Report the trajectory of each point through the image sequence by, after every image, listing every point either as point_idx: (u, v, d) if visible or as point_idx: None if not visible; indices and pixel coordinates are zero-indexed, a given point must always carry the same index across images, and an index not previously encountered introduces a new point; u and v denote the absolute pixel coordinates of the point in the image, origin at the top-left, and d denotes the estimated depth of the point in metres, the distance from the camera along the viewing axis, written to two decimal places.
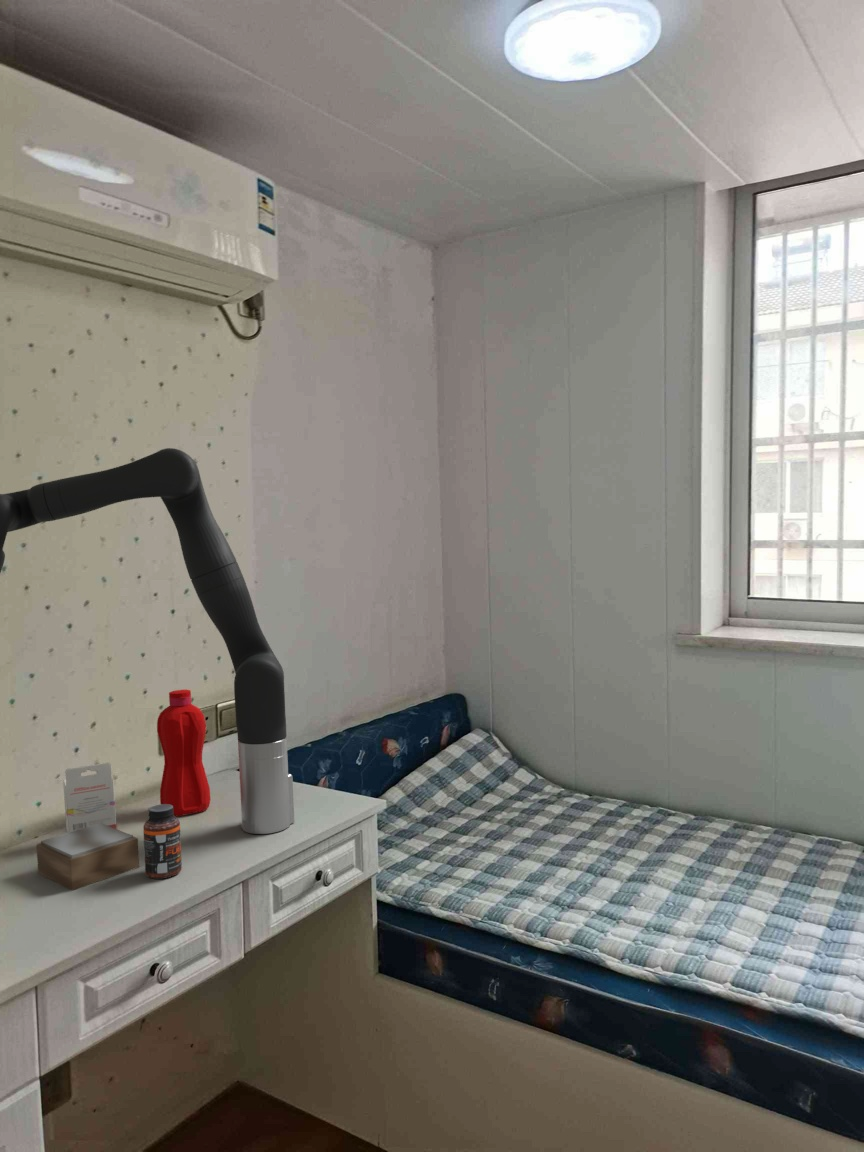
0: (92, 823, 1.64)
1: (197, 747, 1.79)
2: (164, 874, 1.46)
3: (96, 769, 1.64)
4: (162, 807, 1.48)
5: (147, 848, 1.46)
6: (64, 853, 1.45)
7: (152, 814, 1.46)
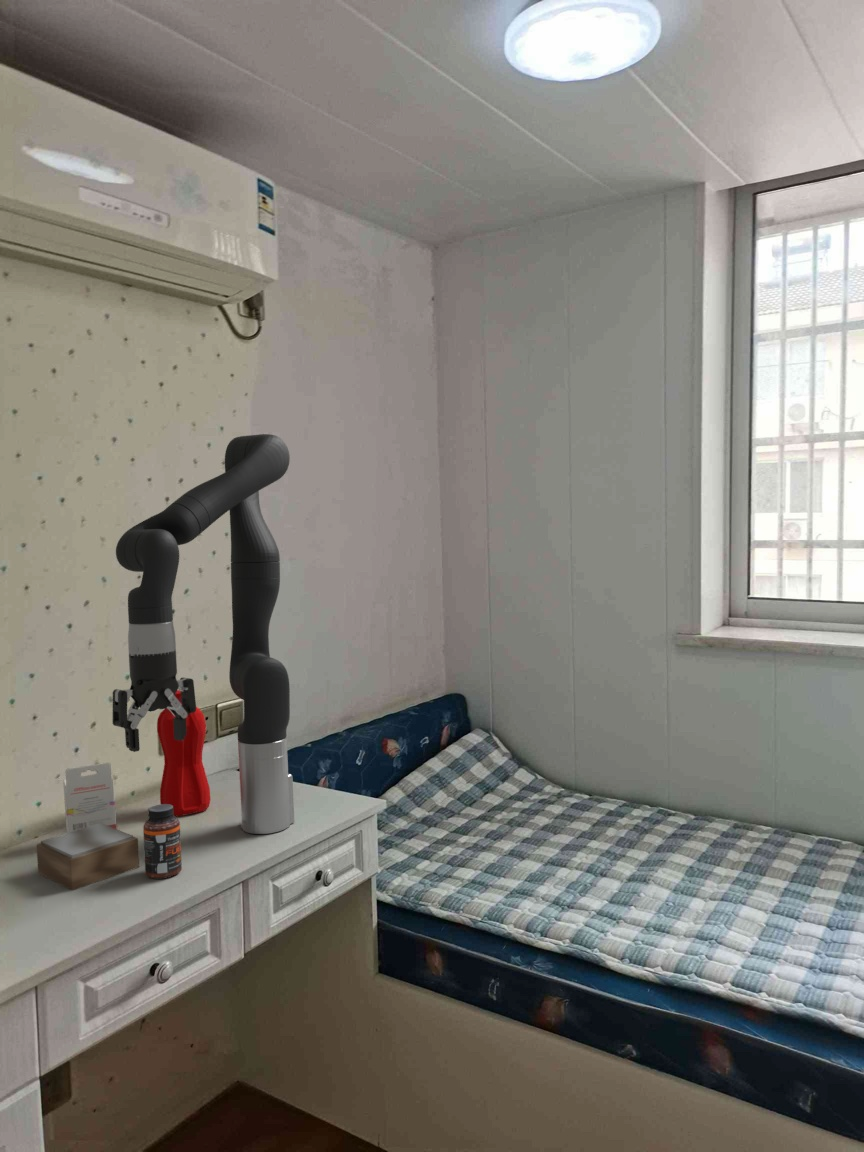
0: (92, 823, 1.64)
1: (197, 747, 1.79)
2: (164, 874, 1.46)
3: (96, 769, 1.64)
4: (162, 807, 1.48)
5: (147, 848, 1.46)
6: (64, 853, 1.45)
7: (152, 814, 1.46)
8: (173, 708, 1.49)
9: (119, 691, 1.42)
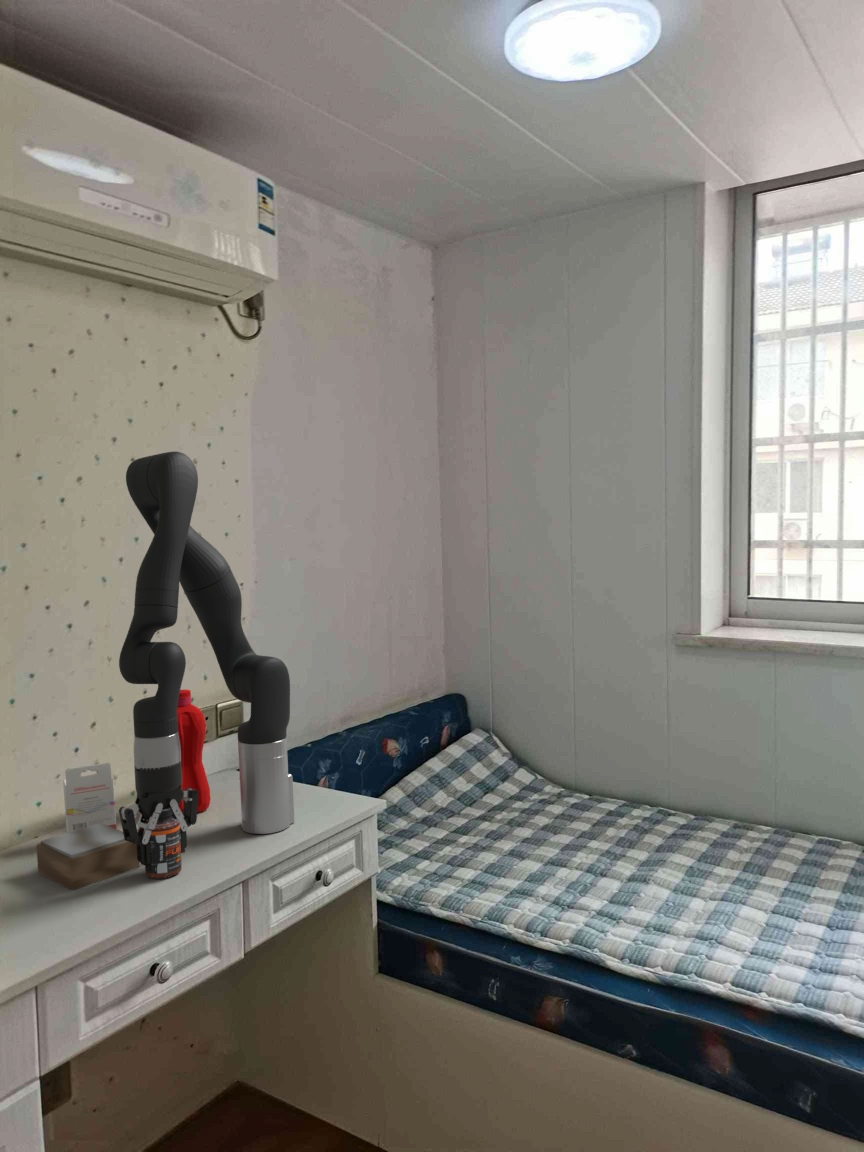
0: (92, 823, 1.64)
1: (197, 747, 1.79)
2: (164, 874, 1.46)
3: (96, 769, 1.64)
4: None
5: None
6: (64, 853, 1.45)
7: None
8: None
9: (125, 810, 1.43)
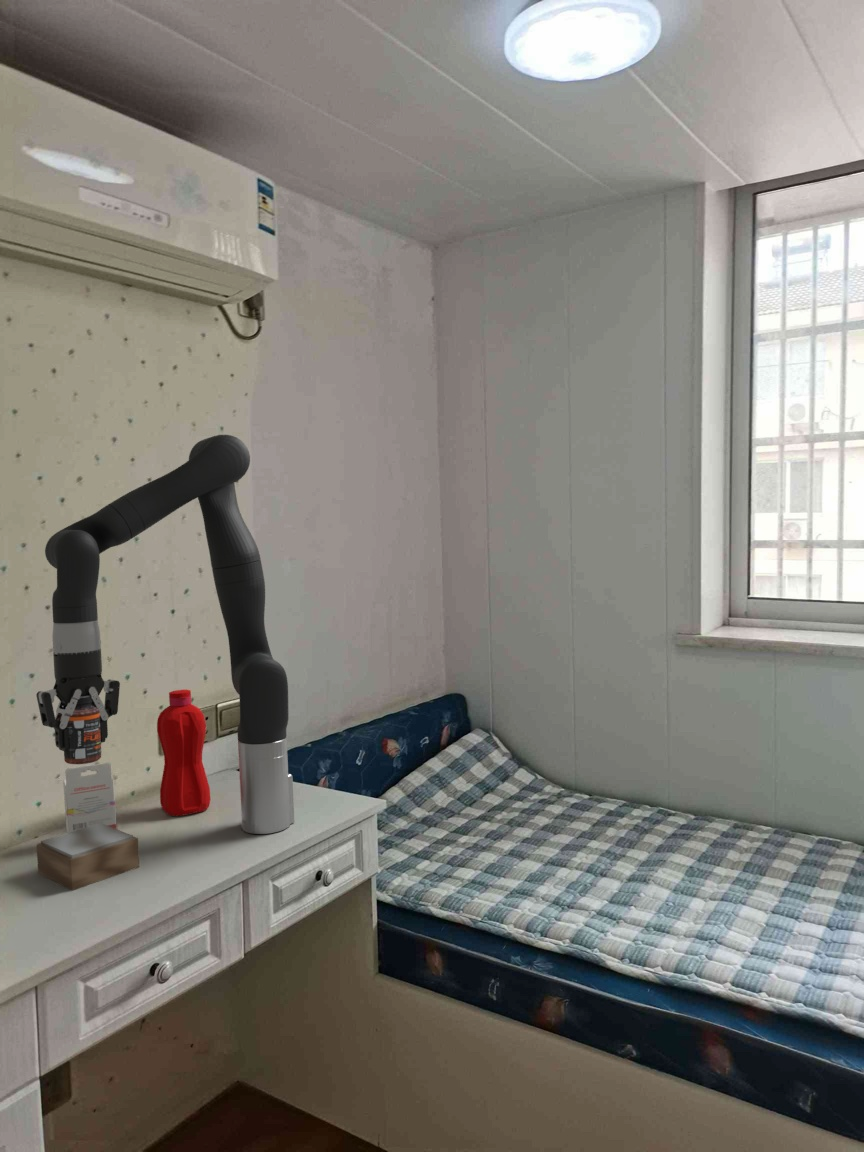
0: (92, 823, 1.64)
1: (197, 747, 1.79)
2: (82, 760, 1.47)
3: (96, 769, 1.64)
4: None
5: None
6: (64, 853, 1.45)
7: None
8: None
9: (42, 693, 1.44)
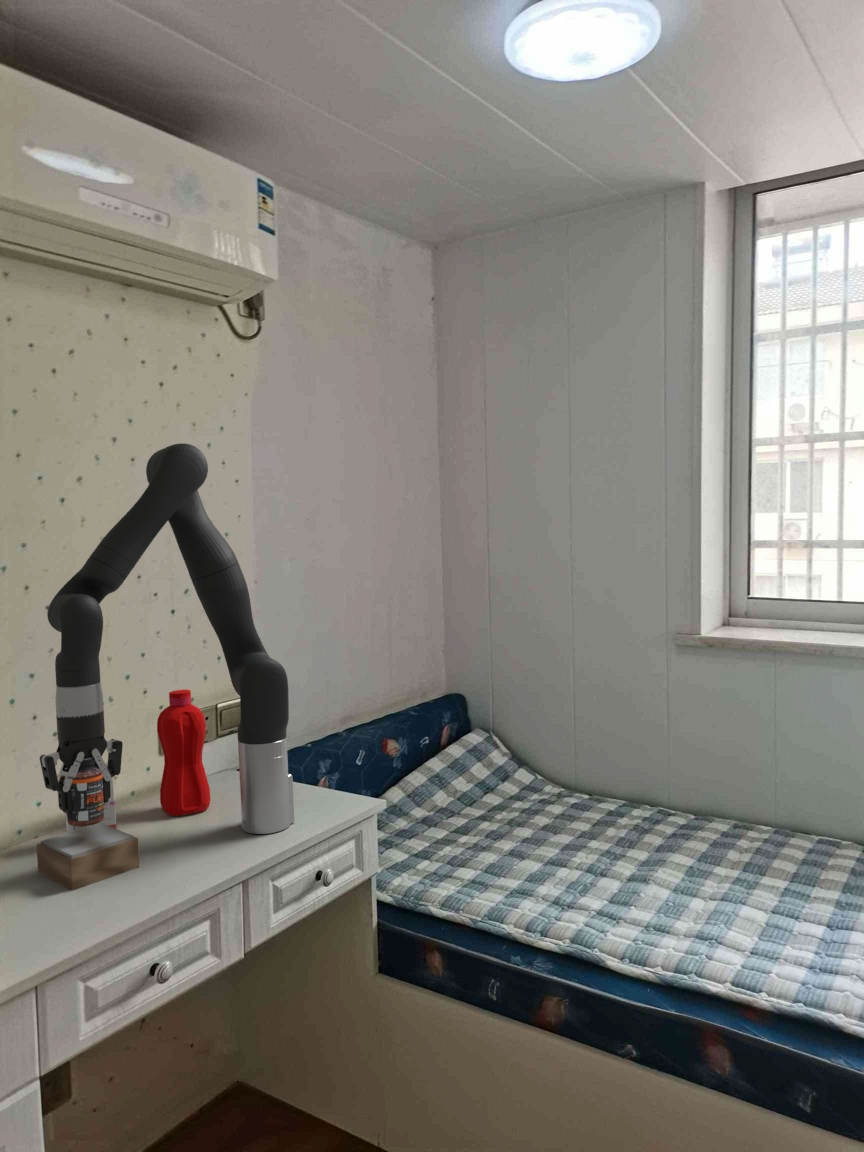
0: None
1: (197, 747, 1.79)
2: (85, 822, 1.48)
3: None
4: None
5: None
6: (64, 853, 1.45)
7: None
8: None
9: (45, 758, 1.45)
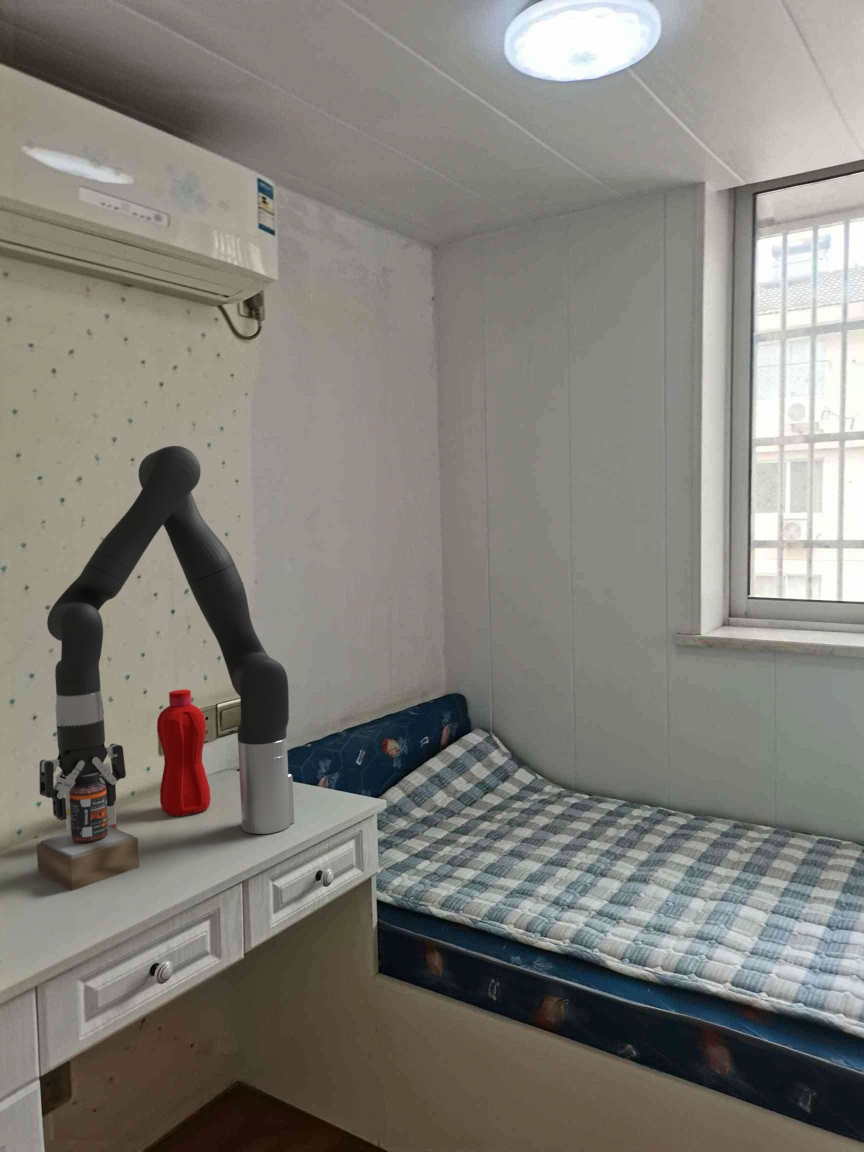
0: None
1: (197, 747, 1.79)
2: (89, 838, 1.49)
3: None
4: None
5: (72, 812, 1.49)
6: (64, 853, 1.45)
7: None
8: (102, 775, 1.52)
9: (45, 762, 1.45)
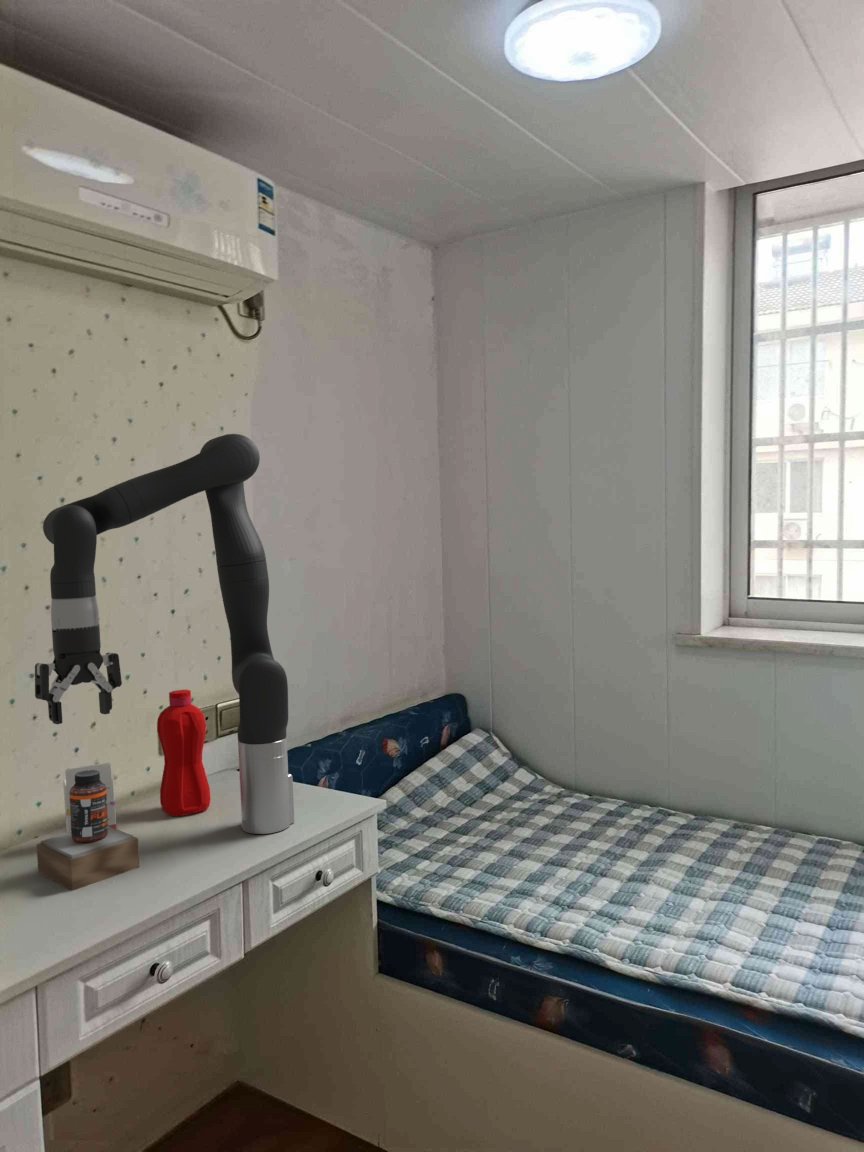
0: None
1: (197, 747, 1.79)
2: (89, 838, 1.49)
3: (96, 769, 1.64)
4: (88, 772, 1.51)
5: (72, 812, 1.49)
6: (64, 853, 1.45)
7: (78, 779, 1.49)
8: (97, 682, 1.51)
9: (41, 664, 1.44)
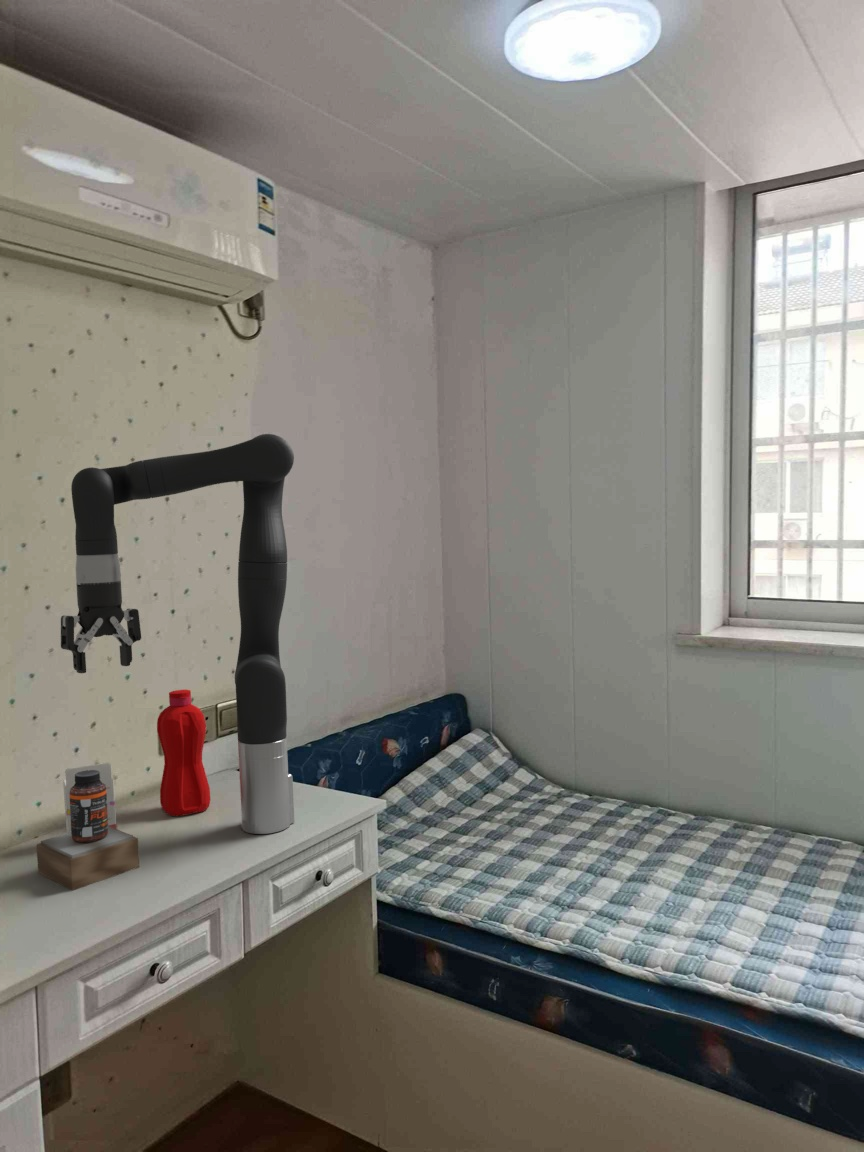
0: None
1: (197, 747, 1.79)
2: (89, 838, 1.49)
3: (96, 769, 1.64)
4: (88, 772, 1.51)
5: (72, 812, 1.49)
6: (64, 853, 1.45)
7: (78, 779, 1.49)
8: (119, 635, 1.61)
9: (66, 616, 1.53)
